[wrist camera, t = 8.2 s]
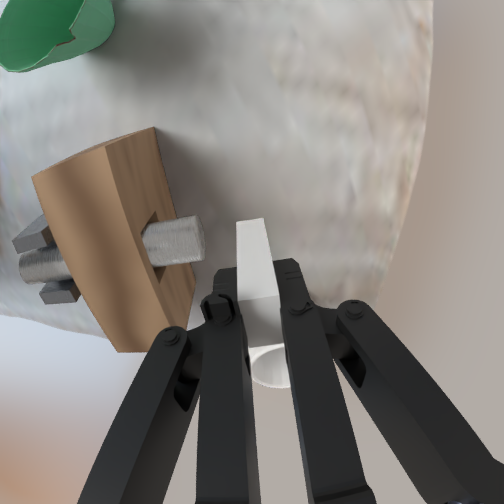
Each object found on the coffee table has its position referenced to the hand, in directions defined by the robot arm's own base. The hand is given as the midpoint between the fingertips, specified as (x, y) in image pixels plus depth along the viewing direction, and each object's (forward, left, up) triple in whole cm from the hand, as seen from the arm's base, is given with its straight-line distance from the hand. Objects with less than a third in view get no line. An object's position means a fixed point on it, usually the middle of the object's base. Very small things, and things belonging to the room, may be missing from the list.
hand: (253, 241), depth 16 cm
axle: (-14, -2, -7) cm, 16 cm away
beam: (-11, -2, -12) cm, 17 cm away
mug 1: (-11, +22, -12) cm, 28 cm away
